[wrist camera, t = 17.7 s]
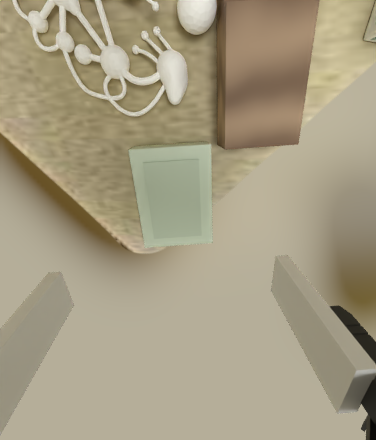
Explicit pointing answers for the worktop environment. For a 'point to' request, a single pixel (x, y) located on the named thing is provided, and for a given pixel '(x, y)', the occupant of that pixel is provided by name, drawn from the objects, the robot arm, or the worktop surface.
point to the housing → (262, 70)
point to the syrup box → (371, 27)
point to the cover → (173, 193)
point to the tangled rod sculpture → (116, 57)
